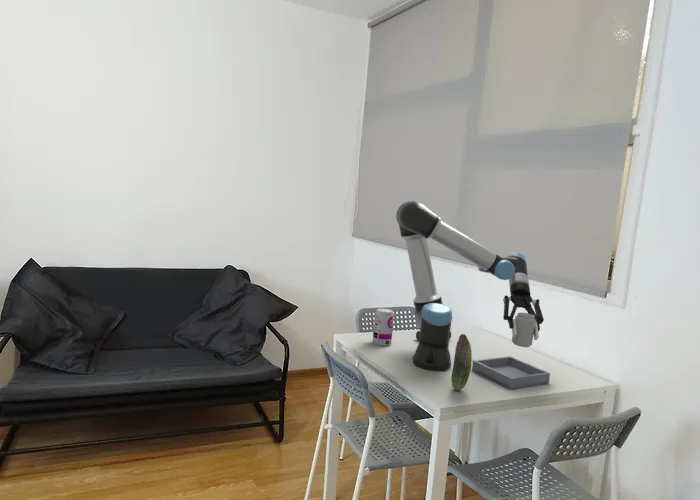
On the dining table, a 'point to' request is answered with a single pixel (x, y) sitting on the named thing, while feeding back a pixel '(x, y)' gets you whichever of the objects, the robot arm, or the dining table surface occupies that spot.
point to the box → (510, 372)
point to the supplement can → (383, 327)
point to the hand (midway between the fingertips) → (525, 337)
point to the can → (524, 329)
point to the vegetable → (461, 363)
